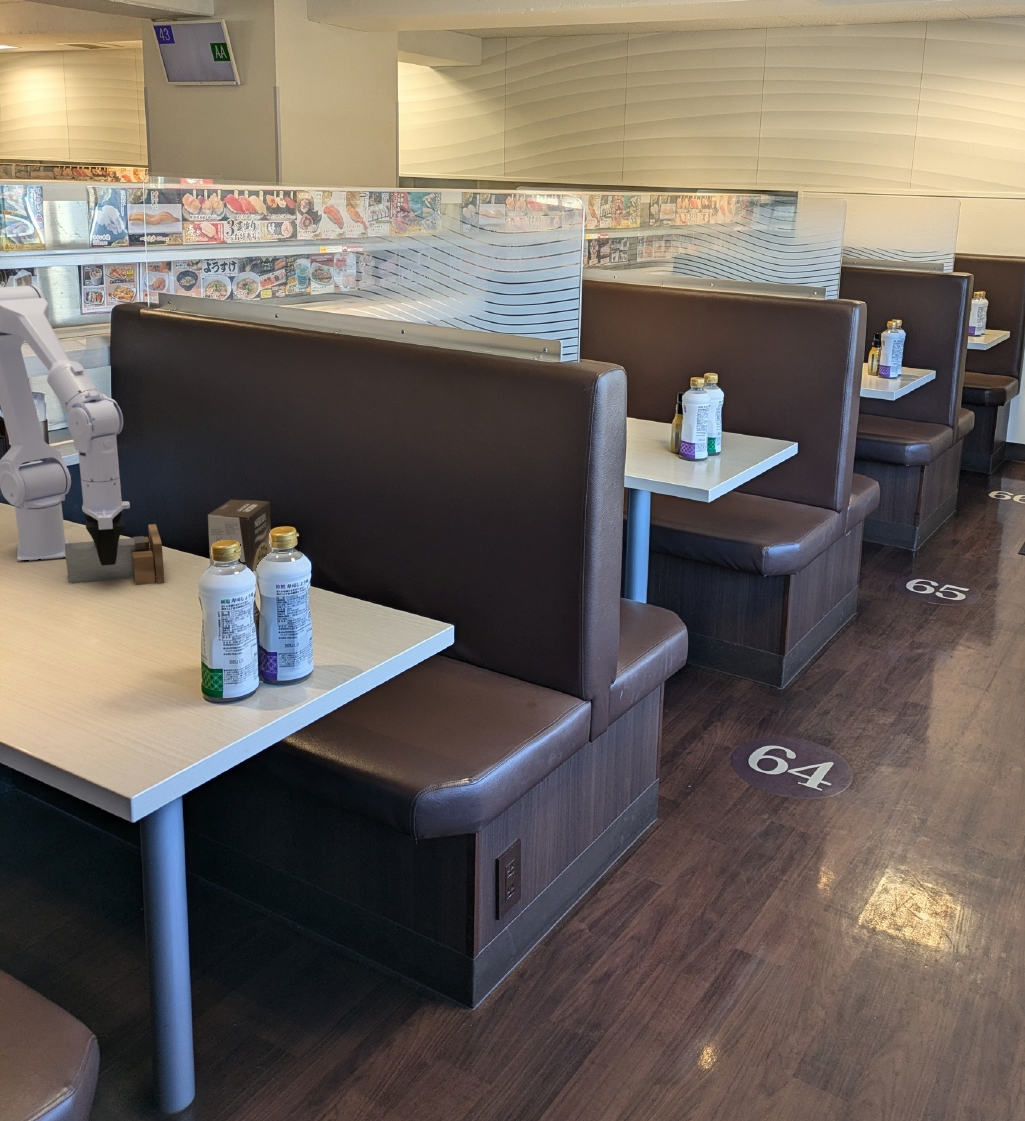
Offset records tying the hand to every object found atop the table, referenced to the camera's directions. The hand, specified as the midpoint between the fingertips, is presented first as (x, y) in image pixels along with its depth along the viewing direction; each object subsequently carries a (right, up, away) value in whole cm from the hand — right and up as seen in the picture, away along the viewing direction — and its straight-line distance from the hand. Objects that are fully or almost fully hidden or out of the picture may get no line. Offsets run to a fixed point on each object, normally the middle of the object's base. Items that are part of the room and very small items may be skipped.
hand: (107, 559), depth 180 cm
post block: (+5, -2, +3) cm, 6 cm away
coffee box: (+25, -8, -11) cm, 28 cm away
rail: (0, -3, +1) cm, 3 cm away
